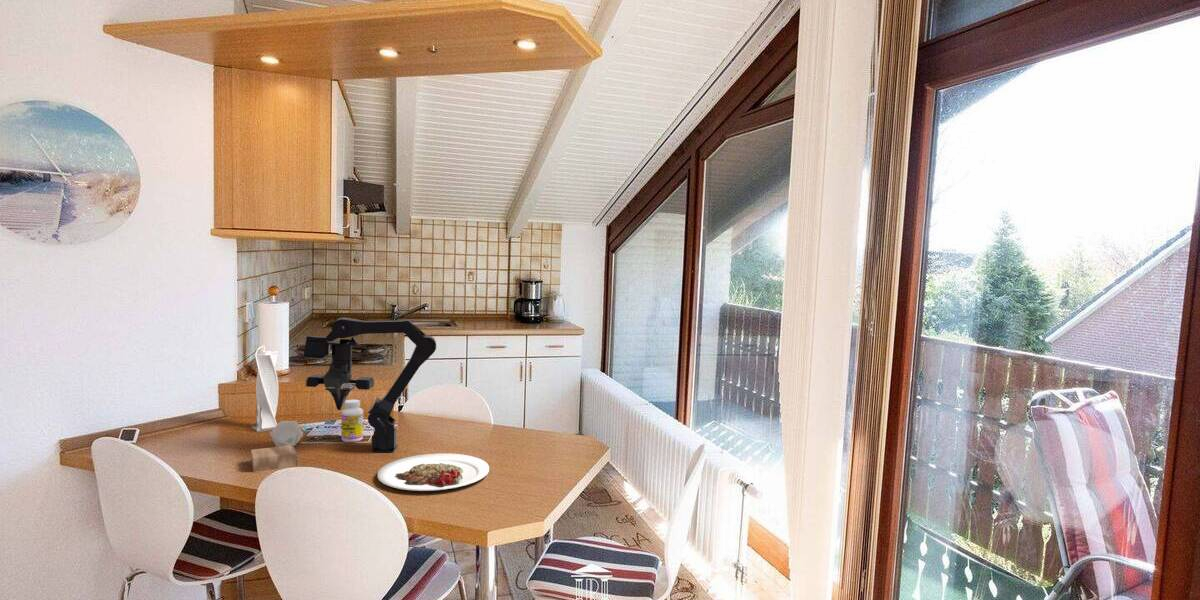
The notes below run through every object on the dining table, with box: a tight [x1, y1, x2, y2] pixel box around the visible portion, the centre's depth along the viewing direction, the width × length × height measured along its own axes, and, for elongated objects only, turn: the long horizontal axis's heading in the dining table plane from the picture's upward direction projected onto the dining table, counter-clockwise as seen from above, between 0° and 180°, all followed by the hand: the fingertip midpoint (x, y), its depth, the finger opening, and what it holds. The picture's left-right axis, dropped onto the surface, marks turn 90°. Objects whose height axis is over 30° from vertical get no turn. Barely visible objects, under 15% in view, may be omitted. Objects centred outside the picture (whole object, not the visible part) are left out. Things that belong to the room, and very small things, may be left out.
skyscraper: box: [251, 345, 280, 433], centre depth 223 cm, size 8×8×28 cm
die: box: [269, 420, 304, 447], centre depth 203 cm, size 8×9×10 cm
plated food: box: [377, 452, 490, 492], centre depth 180 cm, size 30×30×3 cm
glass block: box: [250, 445, 298, 473], centre depth 186 cm, size 4×9×11 cm
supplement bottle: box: [340, 399, 364, 443], centre depth 211 cm, size 7×7×13 cm
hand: (339, 409), depth 198 cm, fingers closed
